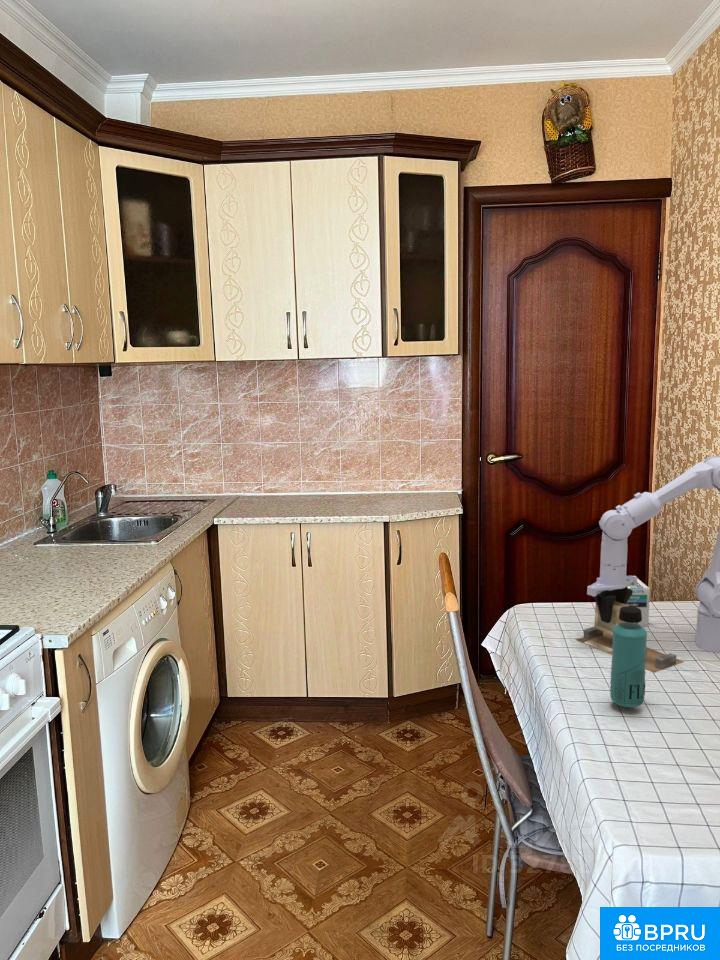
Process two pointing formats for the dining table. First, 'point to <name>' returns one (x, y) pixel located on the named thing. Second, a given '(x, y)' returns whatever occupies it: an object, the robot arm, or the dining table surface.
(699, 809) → the dining table surface
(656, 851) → the dining table surface
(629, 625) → the beverage bottle
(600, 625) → the tall tan box
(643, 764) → the dining table surface
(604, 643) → the brown board with blocks
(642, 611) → the light bulb box
